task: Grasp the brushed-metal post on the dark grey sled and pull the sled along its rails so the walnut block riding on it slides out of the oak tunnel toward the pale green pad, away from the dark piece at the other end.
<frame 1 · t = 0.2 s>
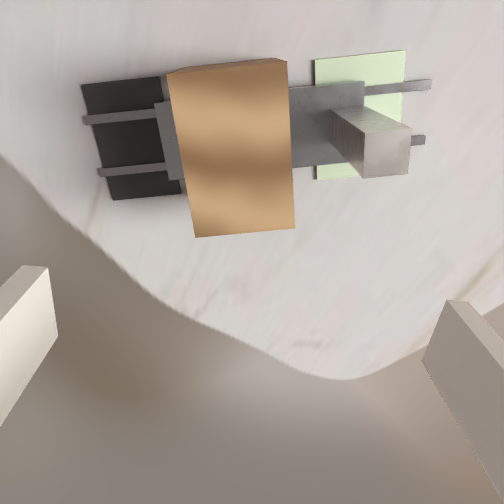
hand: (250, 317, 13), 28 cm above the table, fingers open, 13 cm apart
dark piece: (134, 142, 38), resting in rails
rails: (258, 129, 37), on the table
tunnel: (237, 131, 37), on the table
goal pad: (357, 119, 37), resting in rails
sled: (264, 145, 31), point 7 cm above the table, slide at 0.0 cm, touching block
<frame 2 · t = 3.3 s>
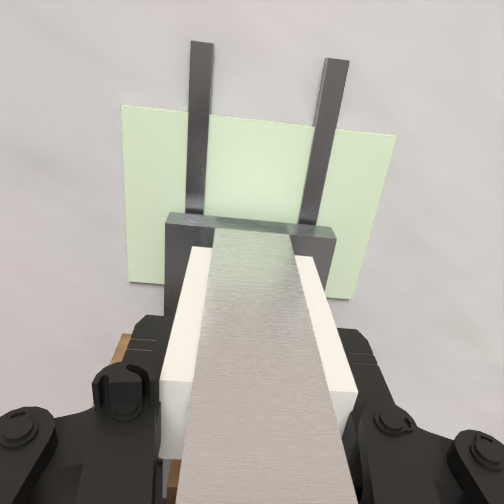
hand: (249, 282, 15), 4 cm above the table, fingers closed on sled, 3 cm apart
block: (228, 424, 21), point 2 cm above the table, touching sled
dark piece: (217, 495, 27), resting in rails
rails: (232, 369, 22), on the table
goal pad: (251, 212, 17), resting in rails
sled: (229, 490, 16), point 7 cm above the table, slide at 0.0 cm, touching block, gripper
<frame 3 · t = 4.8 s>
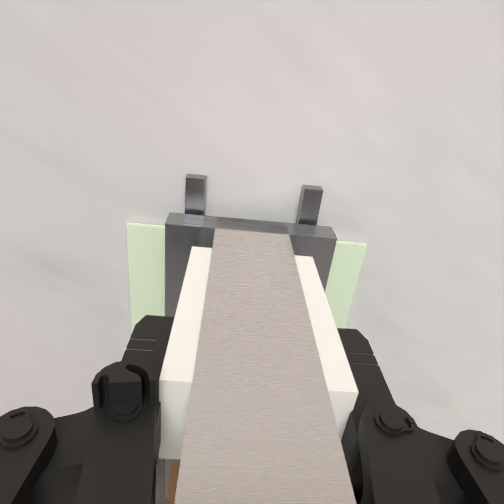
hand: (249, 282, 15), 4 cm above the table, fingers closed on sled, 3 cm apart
block: (229, 424, 21), point 2 cm above the table, touching sled
rails: (227, 429, 24), on the table
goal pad: (241, 303, 20), resting in rails
sled: (230, 490, 16), point 7 cm above the table, slide at 5.0 cm, touching block, gripper
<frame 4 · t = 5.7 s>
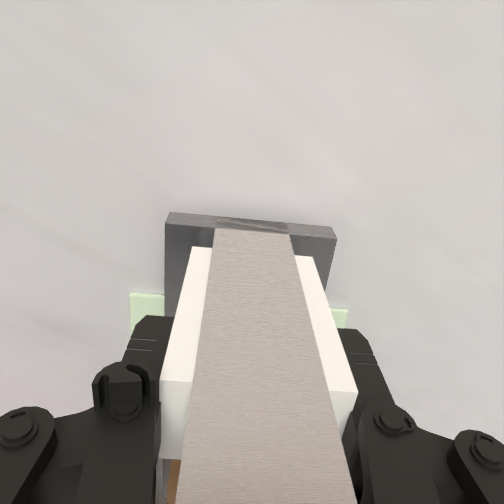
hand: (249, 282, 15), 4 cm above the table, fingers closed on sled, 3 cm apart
block: (229, 423, 21), point 2 cm above the table, touching sled
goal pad: (234, 360, 22), resting in rails
sled: (230, 490, 16), point 7 cm above the table, slide at 8.8 cm, touching block, gripper
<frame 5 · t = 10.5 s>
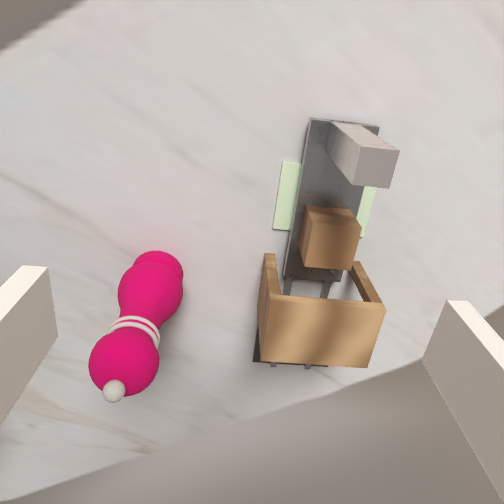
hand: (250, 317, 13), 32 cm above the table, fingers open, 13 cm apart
block: (323, 227, 44), point 2 cm above the table, touching sled
rails: (309, 271, 49), on the table
tunnel: (306, 284, 50), on the table
pepper mill: (158, 271, 49), on the table
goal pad: (324, 200, 45), resting in rails
sled: (336, 227, 39), point 7 cm above the table, slide at 9.0 cm, touching block
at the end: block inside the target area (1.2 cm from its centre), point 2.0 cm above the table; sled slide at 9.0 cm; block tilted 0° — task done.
